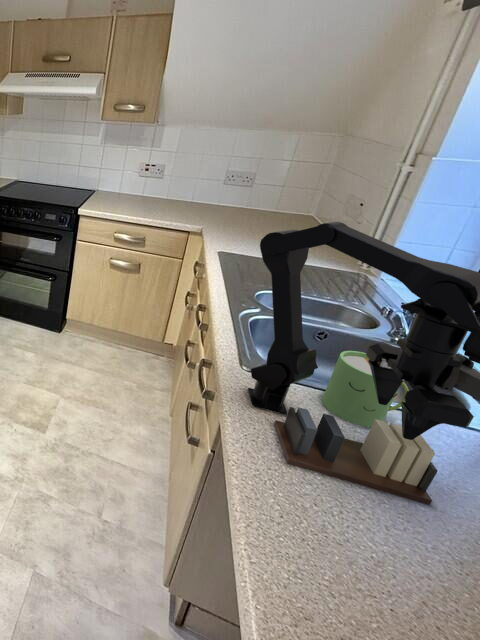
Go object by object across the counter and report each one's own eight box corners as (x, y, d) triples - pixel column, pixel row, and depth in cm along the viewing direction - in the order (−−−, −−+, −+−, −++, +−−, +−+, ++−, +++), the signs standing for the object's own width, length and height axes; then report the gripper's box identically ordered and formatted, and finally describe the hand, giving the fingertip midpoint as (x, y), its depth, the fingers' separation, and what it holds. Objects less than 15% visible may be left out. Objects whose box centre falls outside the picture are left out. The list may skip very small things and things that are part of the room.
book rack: (273, 424, 86) (282, 400, 84) (398, 457, 79) (411, 432, 77) (287, 463, 77) (297, 437, 75) (429, 505, 69) (445, 478, 67)
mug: (329, 417, 88) (348, 371, 84) (316, 389, 97) (334, 346, 93) (407, 439, 83) (432, 391, 79) (386, 407, 92) (408, 362, 88)
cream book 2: (375, 454, 78) (390, 422, 75) (386, 457, 77) (402, 425, 75) (390, 478, 73) (407, 446, 70) (401, 482, 72) (419, 449, 70)
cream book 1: (360, 449, 79) (374, 418, 76) (370, 452, 78) (385, 421, 76) (373, 473, 74) (389, 441, 71) (385, 477, 73) (402, 444, 70)
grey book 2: (313, 437, 82) (323, 413, 79) (323, 440, 81) (333, 415, 79) (323, 459, 76) (334, 434, 74) (333, 462, 76) (345, 437, 74)
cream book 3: (388, 457, 77) (405, 426, 75) (400, 460, 77) (416, 429, 74) (404, 483, 72) (422, 450, 69) (416, 486, 71) (435, 453, 69)
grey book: (288, 430, 83) (298, 406, 81) (298, 433, 82) (308, 409, 80) (297, 452, 78) (307, 427, 76) (307, 455, 77) (317, 430, 75)
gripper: (548, 392, 56) (494, 478, 61) (463, 328, 72) (426, 401, 77) (438, 370, 60) (396, 452, 65) (380, 315, 76) (351, 384, 81)
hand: (394, 420), depth 72 cm, fingers open, 9 cm apart
